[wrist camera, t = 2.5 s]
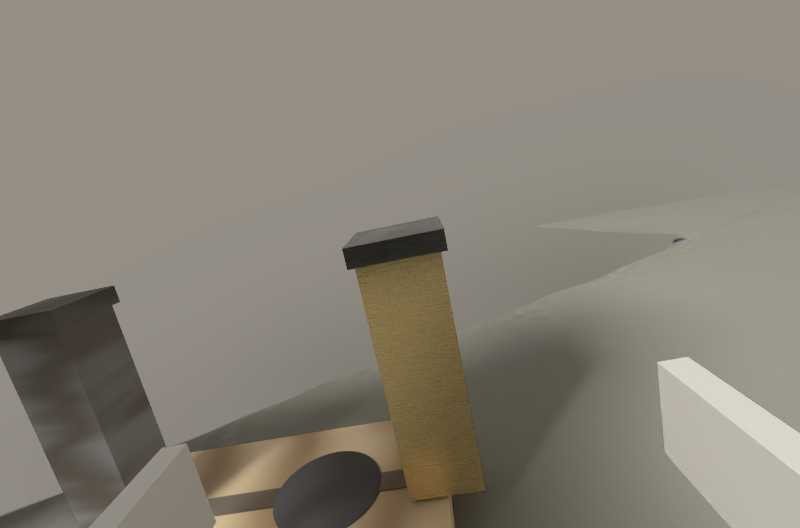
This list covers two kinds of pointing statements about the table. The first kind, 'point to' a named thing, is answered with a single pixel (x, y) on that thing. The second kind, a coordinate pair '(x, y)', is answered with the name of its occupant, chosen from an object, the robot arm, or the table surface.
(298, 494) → the tan and grey stand
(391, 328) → the brass leg
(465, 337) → the table surface
